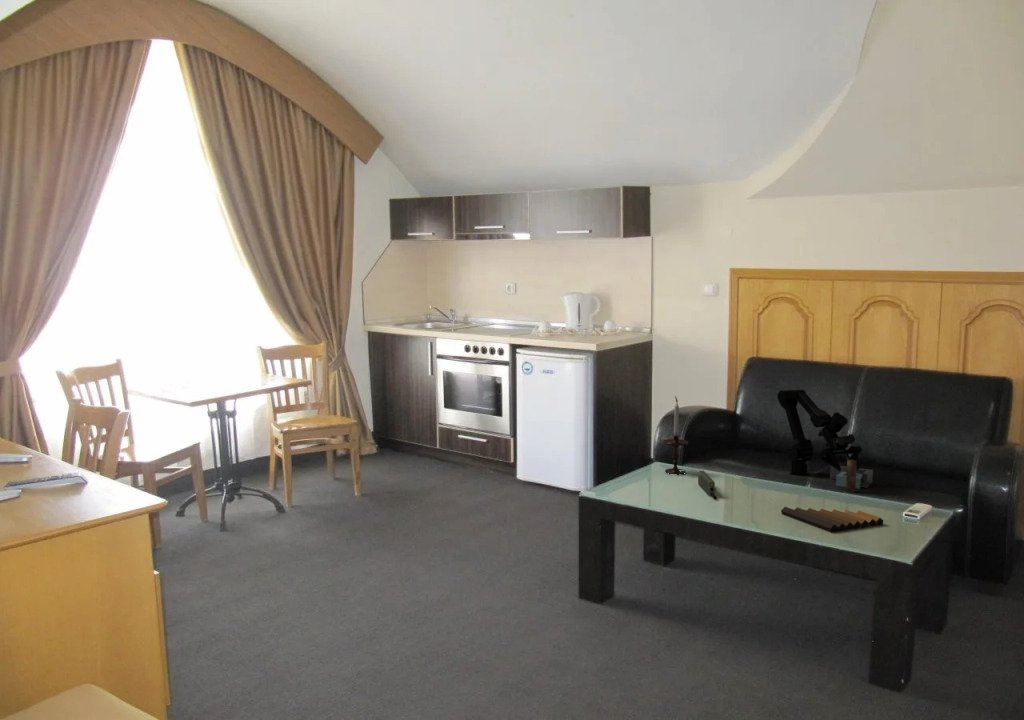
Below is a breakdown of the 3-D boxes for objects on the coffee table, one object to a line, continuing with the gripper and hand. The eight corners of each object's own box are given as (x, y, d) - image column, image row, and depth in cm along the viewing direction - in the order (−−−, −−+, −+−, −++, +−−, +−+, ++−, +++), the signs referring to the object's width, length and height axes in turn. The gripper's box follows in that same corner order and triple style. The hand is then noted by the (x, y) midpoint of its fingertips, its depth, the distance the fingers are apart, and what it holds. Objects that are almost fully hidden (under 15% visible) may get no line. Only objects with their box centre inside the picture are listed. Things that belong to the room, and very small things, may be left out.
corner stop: (825, 482, 374) (825, 468, 373) (831, 478, 382) (831, 464, 381) (866, 488, 364) (867, 474, 363) (872, 483, 372) (872, 470, 371)
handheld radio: (705, 485, 369) (719, 500, 344) (697, 485, 369) (711, 501, 344) (705, 470, 368) (719, 484, 343) (697, 470, 368) (710, 484, 343)
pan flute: (780, 515, 324) (830, 534, 301) (781, 507, 324) (830, 524, 301) (831, 508, 334) (883, 526, 312) (832, 500, 334) (883, 517, 311)
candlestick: (659, 473, 389) (660, 396, 386) (669, 469, 398) (670, 393, 395) (681, 476, 383) (683, 398, 380) (691, 472, 392) (693, 395, 389)
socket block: (835, 485, 369) (836, 475, 369) (842, 481, 377) (842, 471, 376) (859, 489, 363) (859, 478, 363) (865, 484, 371) (865, 474, 371)
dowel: (844, 491, 358) (846, 460, 357) (847, 489, 361) (848, 459, 360) (854, 493, 356) (855, 461, 355) (856, 491, 359) (857, 460, 358)
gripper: (823, 429, 359) (841, 460, 350) (860, 426, 365) (878, 457, 356) (810, 444, 367) (827, 475, 358) (846, 441, 373) (863, 472, 364)
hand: (849, 469), depth 359 cm, fingers open, 9 cm apart
